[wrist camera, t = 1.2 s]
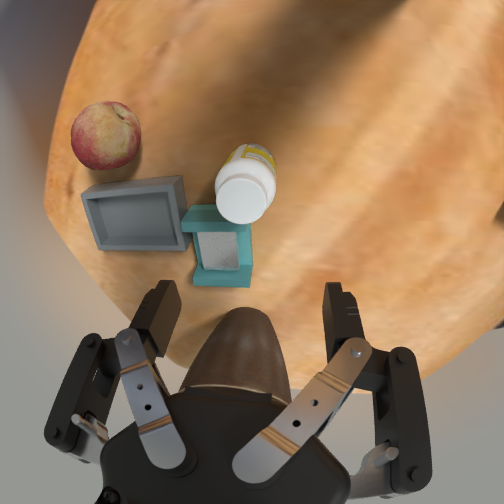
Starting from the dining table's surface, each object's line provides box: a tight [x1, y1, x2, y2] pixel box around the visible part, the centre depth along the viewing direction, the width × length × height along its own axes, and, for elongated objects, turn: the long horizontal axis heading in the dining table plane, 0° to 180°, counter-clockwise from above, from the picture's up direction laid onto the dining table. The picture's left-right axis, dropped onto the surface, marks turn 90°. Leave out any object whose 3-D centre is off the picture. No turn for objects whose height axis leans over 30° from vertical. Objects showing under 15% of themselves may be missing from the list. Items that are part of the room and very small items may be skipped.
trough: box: [80, 175, 192, 251], centre depth 32 cm, size 9×14×3 cm, turn 93°
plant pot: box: [178, 307, 292, 405], centre depth 37 cm, size 15×15×16 cm
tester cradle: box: [180, 204, 253, 288], centre depth 33 cm, size 9×7×4 cm
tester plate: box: [197, 232, 240, 271], centre depth 32 cm, size 6×4×1 cm
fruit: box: [71, 101, 141, 170], centre depth 24 cm, size 8×8×8 cm
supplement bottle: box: [215, 144, 276, 224], centre depth 25 cm, size 5×5×10 cm
